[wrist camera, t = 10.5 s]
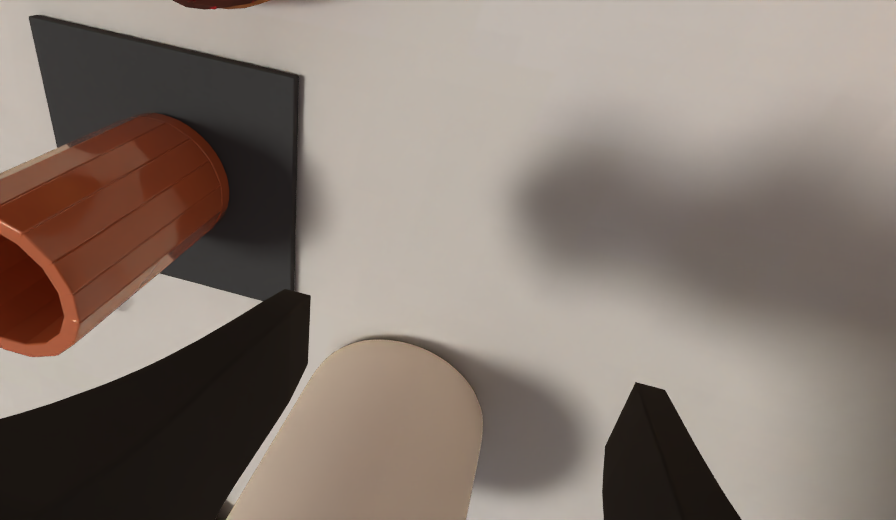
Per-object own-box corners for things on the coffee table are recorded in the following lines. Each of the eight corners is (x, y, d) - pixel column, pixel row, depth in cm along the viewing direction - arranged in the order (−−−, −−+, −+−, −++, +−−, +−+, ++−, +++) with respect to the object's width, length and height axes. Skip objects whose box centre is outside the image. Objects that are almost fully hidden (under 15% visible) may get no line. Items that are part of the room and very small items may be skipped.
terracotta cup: (232, 244, 24) (92, 375, 17) (121, 215, 24) (-59, 331, 17) (227, 129, 21) (58, 231, 14) (102, 98, 21) (-120, 183, 15)
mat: (294, 303, 25) (290, 308, 25) (86, 247, 26) (79, 252, 26) (299, 75, 20) (294, 77, 19) (37, 14, 21) (27, 16, 20)
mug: (336, 496, 32) (242, 713, 23) (232, 393, 29) (82, 597, 20) (521, 436, 26) (488, 690, 18) (415, 304, 24) (316, 528, 15)
